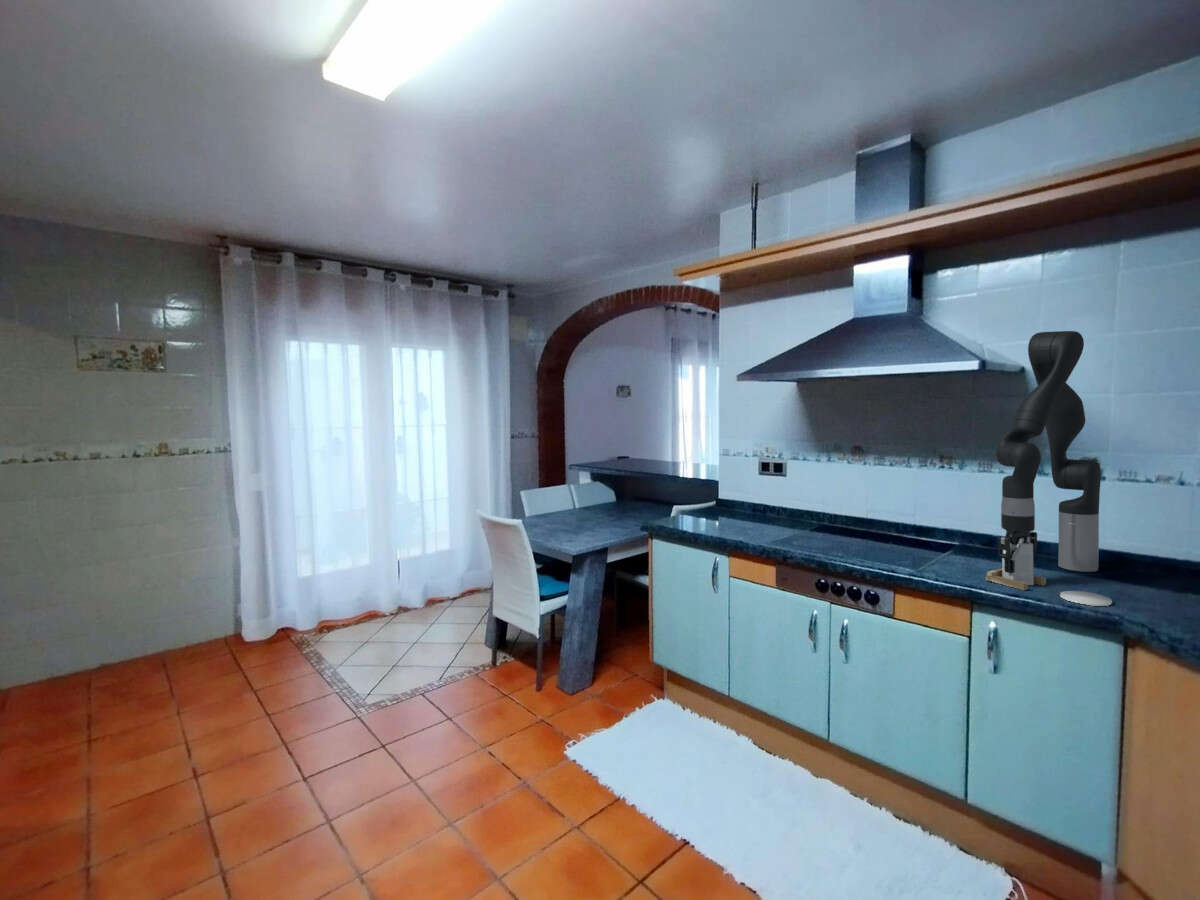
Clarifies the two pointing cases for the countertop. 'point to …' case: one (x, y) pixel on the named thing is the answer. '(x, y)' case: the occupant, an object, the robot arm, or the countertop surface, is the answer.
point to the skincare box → (1021, 564)
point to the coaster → (1086, 598)
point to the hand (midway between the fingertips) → (1017, 570)
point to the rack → (997, 578)
